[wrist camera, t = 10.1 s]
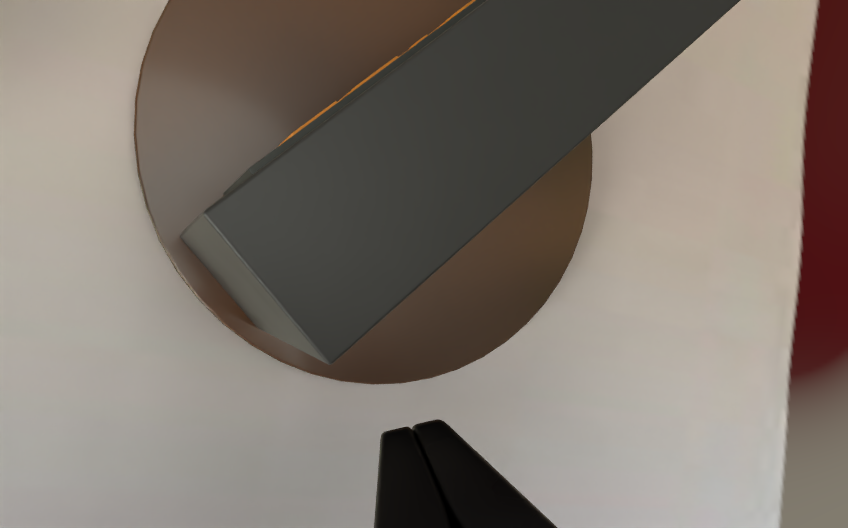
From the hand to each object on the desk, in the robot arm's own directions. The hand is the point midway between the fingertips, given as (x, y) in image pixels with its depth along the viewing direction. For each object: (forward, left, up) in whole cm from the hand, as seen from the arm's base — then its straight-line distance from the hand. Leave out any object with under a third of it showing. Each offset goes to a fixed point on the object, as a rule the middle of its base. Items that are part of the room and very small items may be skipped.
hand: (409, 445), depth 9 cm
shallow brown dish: (+4, -5, -10) cm, 12 cm away
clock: (+4, -5, -10) cm, 12 cm away
